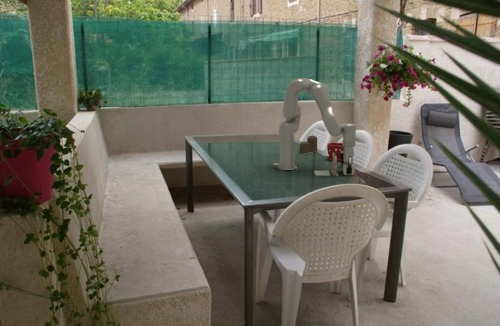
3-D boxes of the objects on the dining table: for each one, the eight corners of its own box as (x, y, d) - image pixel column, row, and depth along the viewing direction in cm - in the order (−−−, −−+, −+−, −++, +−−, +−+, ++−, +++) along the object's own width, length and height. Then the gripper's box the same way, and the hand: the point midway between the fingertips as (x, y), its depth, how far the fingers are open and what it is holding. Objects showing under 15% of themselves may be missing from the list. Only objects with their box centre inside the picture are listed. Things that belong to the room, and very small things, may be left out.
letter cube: (344, 174, 260) (344, 164, 259) (342, 172, 266) (342, 162, 265) (354, 174, 260) (355, 164, 259) (353, 172, 266) (353, 162, 264)
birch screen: (333, 176, 258) (333, 156, 255) (330, 171, 270) (331, 152, 268) (338, 176, 257) (338, 156, 255) (335, 171, 270) (335, 152, 267)
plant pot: (346, 162, 295) (346, 145, 292) (326, 161, 297) (327, 145, 295) (345, 158, 307) (346, 142, 305) (327, 158, 310) (327, 141, 307)
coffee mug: (355, 166, 282) (355, 151, 280) (351, 168, 275) (351, 153, 272) (338, 164, 288) (338, 150, 286) (334, 167, 280) (334, 152, 278)
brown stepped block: (316, 150, 338) (316, 132, 335) (317, 154, 325) (318, 134, 322) (299, 150, 340) (299, 132, 336) (300, 154, 326) (300, 134, 323)
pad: (315, 175, 259) (315, 174, 259) (314, 171, 270) (314, 170, 270) (330, 175, 259) (330, 174, 259) (328, 171, 269) (328, 170, 269)
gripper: (340, 141, 268) (340, 169, 272) (344, 146, 251) (344, 175, 255) (353, 141, 267) (352, 169, 271) (357, 146, 250) (356, 175, 254)
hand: (348, 172), depth 263 cm, fingers closed on letter cube, 6 cm apart
